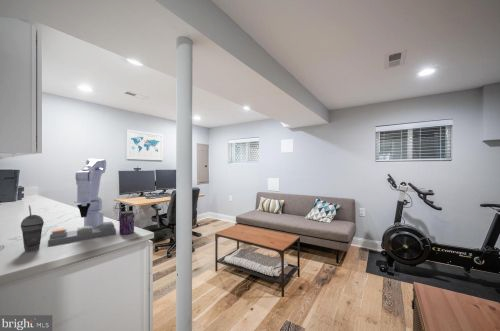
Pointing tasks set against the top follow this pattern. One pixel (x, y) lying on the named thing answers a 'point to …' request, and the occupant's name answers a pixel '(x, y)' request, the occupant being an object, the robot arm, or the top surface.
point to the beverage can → (126, 222)
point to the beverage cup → (31, 232)
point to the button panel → (80, 234)
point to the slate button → (106, 223)
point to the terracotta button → (58, 230)
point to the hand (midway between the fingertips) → (83, 217)
